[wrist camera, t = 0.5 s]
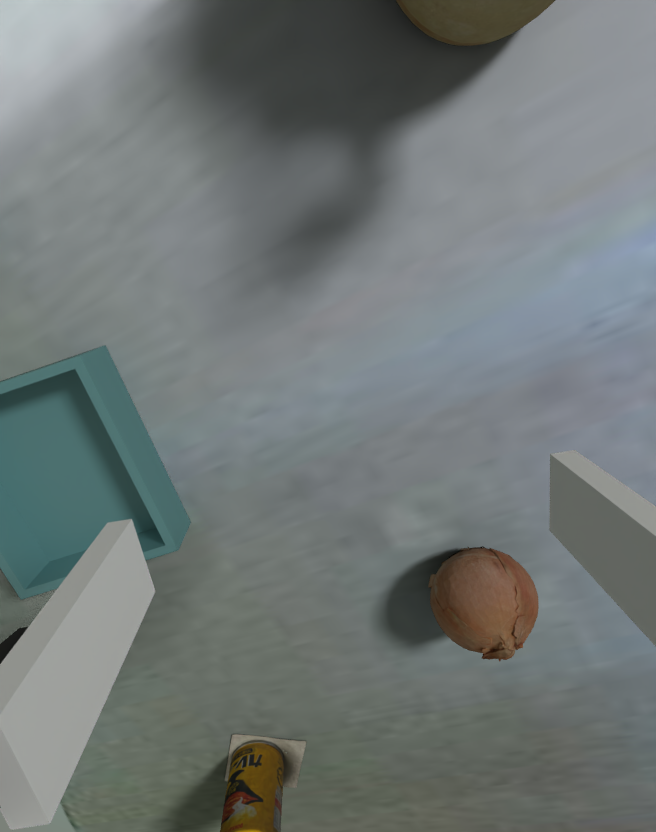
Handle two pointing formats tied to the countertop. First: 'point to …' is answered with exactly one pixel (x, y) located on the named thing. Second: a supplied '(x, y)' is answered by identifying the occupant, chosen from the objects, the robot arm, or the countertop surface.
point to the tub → (76, 471)
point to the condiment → (259, 782)
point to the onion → (484, 602)
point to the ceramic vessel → (471, 18)
